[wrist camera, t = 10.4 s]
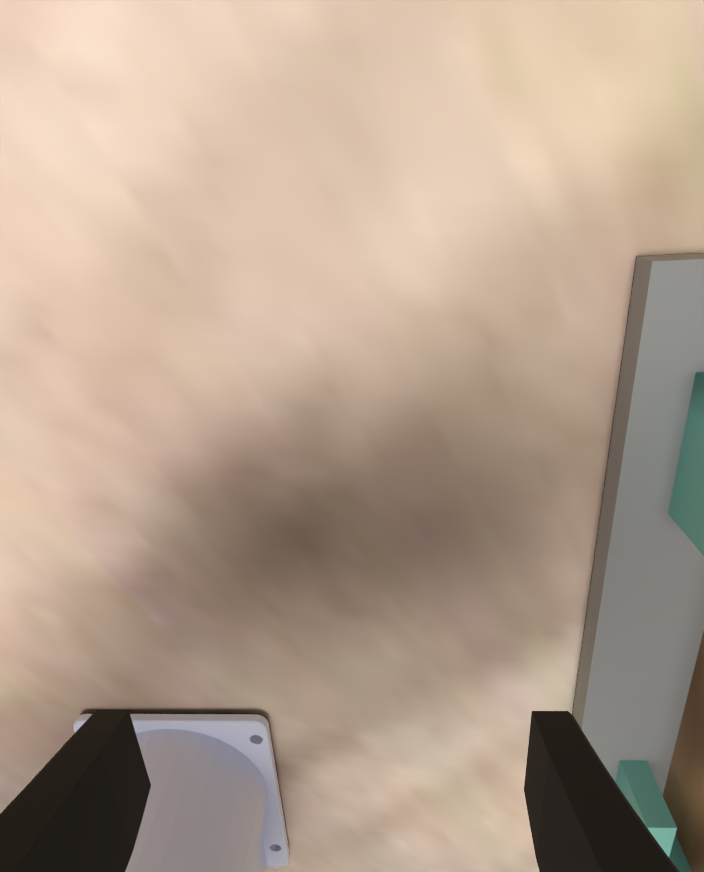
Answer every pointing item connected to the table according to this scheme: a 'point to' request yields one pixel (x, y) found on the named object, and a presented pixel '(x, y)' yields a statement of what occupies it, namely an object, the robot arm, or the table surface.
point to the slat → (689, 772)
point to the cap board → (650, 545)
